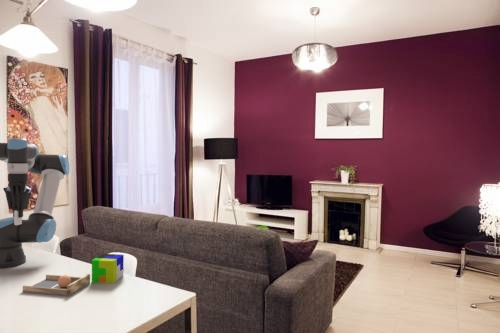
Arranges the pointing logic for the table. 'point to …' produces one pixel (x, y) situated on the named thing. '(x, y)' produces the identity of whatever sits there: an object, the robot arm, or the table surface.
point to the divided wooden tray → (70, 289)
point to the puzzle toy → (107, 268)
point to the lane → (52, 286)
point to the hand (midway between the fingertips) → (18, 224)
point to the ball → (64, 281)
